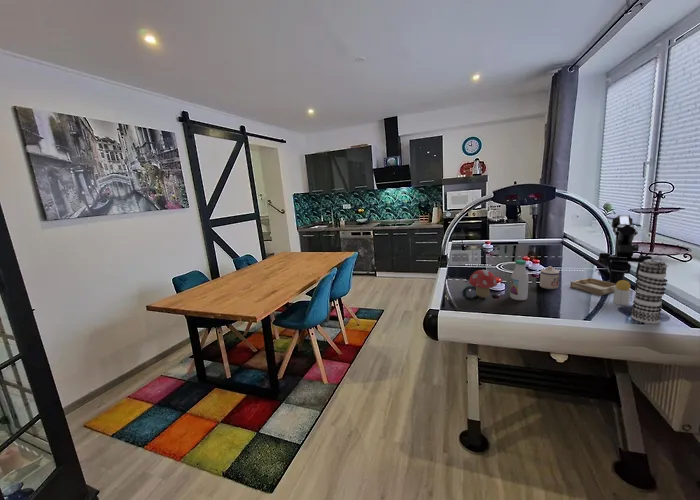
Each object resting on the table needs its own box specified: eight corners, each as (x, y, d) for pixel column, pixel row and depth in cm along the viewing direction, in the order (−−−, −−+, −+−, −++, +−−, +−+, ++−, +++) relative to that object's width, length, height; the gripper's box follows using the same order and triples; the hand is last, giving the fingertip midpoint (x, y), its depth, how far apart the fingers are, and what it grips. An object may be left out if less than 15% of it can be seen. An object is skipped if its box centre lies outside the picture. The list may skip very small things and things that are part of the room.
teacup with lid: (553, 290, 159) (555, 269, 157) (536, 286, 167) (537, 266, 165) (564, 285, 166) (565, 265, 163) (546, 281, 173) (547, 262, 171)
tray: (588, 282, 168) (589, 277, 167) (619, 290, 154) (620, 284, 153) (570, 286, 163) (570, 281, 162) (600, 295, 149) (601, 289, 149)
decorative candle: (624, 313, 129) (632, 258, 124) (651, 314, 126) (660, 258, 121) (638, 322, 120) (646, 263, 115) (666, 324, 117) (677, 263, 112)
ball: (619, 288, 141) (620, 278, 140) (632, 291, 136) (633, 281, 135) (612, 289, 139) (613, 279, 138) (625, 293, 135) (626, 282, 134)
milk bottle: (525, 295, 155) (527, 258, 151) (528, 301, 148) (531, 262, 144) (508, 294, 157) (510, 258, 153) (511, 300, 150) (513, 262, 146)
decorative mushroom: (499, 302, 149) (501, 273, 145) (471, 302, 151) (472, 274, 148) (492, 293, 161) (493, 266, 158) (466, 292, 164) (467, 267, 161)
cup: (617, 300, 142) (619, 286, 141) (631, 303, 138) (633, 289, 136) (610, 302, 141) (612, 288, 139) (623, 305, 136) (625, 291, 134)
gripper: (601, 236, 147) (599, 263, 141) (654, 239, 136) (654, 267, 130) (599, 249, 155) (597, 274, 149) (649, 252, 143) (649, 280, 137)
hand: (623, 274), depth 141 cm, fingers open, 9 cm apart
